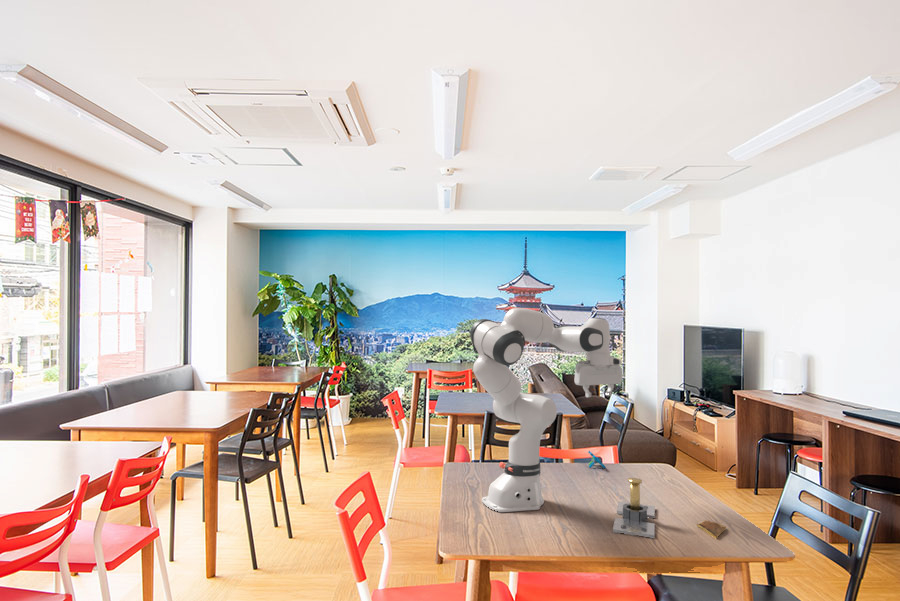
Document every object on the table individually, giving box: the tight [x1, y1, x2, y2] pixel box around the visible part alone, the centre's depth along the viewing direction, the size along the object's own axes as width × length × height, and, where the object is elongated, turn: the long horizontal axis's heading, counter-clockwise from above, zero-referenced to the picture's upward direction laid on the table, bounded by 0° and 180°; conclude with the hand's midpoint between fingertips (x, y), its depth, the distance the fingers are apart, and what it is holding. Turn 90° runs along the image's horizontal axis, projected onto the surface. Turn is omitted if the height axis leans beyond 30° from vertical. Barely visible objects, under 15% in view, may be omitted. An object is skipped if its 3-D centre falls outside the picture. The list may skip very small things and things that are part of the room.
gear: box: [587, 450, 607, 469], centre depth 228 cm, size 11×6×10 cm
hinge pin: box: [627, 477, 643, 511], centre depth 167 cm, size 4×4×13 cm
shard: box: [697, 519, 727, 540], centre depth 158 cm, size 11×8×2 cm
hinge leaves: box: [612, 501, 656, 539], centre depth 167 cm, size 27×12×4 cm, turn 158°
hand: (598, 396), depth 192 cm, fingers open, 8 cm apart
